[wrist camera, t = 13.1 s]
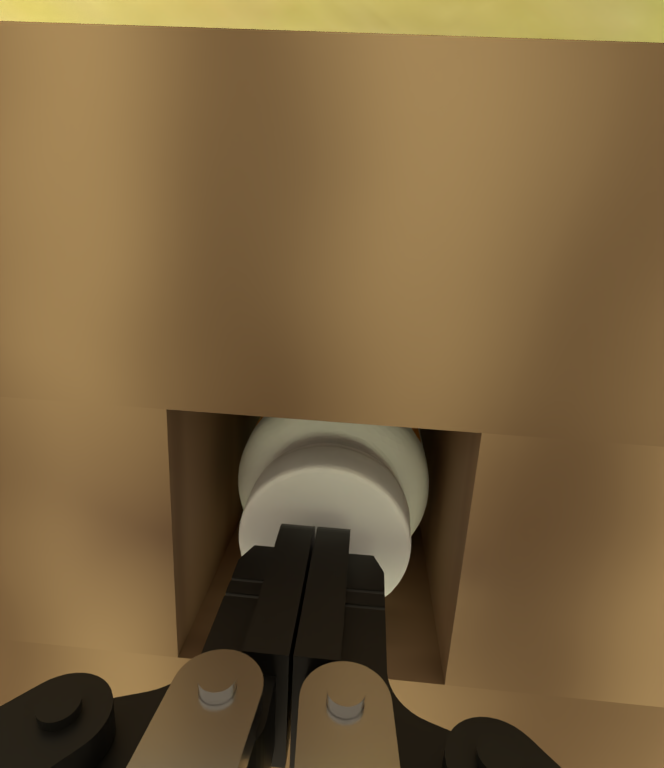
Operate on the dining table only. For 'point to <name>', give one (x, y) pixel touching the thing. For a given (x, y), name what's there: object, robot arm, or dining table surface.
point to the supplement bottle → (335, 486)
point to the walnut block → (340, 349)
